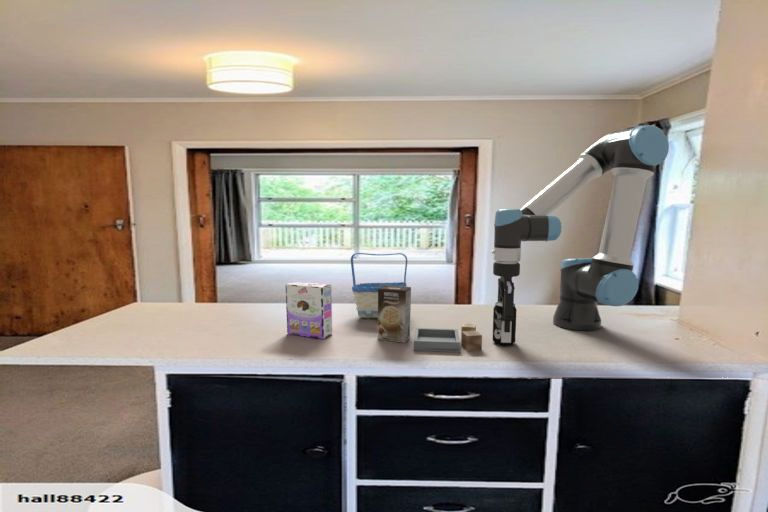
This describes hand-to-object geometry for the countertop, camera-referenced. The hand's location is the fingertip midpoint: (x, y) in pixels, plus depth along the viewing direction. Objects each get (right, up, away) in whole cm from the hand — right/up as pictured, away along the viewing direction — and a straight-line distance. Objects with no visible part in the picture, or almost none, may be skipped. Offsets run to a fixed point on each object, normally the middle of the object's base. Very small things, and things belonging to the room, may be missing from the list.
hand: (503, 338), depth 132 cm
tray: (-20, -2, -1) cm, 20 cm away
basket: (-38, +2, +31) cm, 49 cm away
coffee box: (-33, -1, +5) cm, 33 cm away
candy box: (-59, -1, +9) cm, 60 cm away
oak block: (-9, -1, +6) cm, 11 cm away
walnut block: (-11, -2, -4) cm, 12 cm away
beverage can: (0, -2, 0) cm, 2 cm away
